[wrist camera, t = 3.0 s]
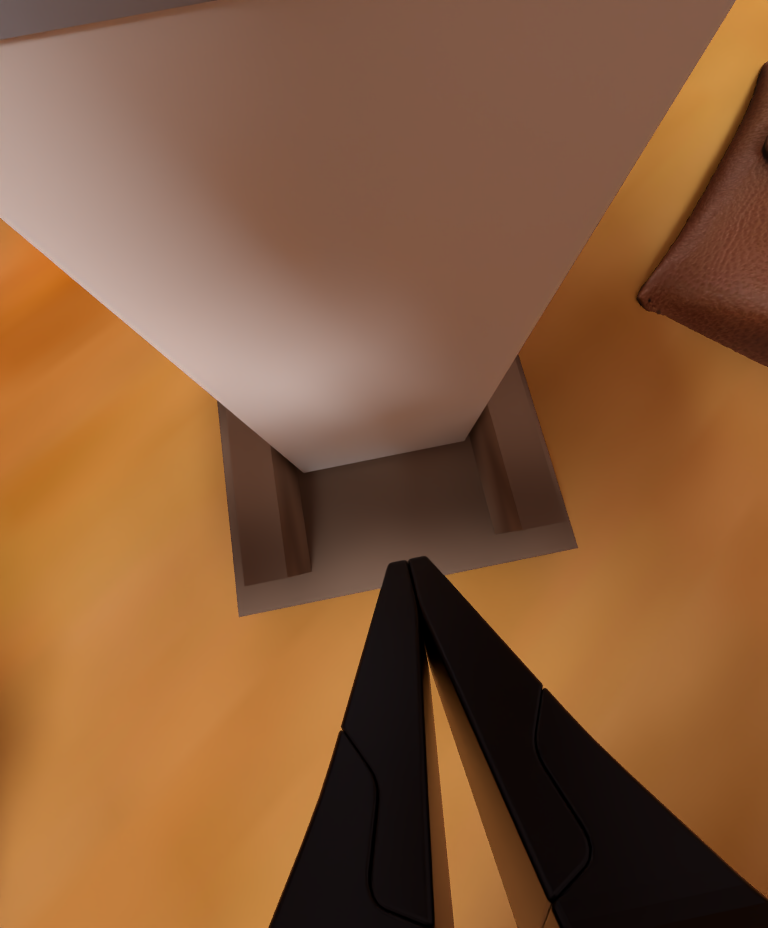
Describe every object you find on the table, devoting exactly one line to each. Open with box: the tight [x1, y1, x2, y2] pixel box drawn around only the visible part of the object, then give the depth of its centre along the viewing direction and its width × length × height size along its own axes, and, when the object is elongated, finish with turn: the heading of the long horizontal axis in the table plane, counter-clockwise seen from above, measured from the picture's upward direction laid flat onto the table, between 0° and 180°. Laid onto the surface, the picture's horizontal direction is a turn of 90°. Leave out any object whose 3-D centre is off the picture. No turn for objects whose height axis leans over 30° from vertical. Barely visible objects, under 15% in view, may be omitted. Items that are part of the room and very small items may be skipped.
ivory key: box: [0, 0, 736, 473], centre depth 8 cm, size 5×6×13 cm
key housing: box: [217, 355, 578, 617], centre depth 14 cm, size 16×12×6 cm
